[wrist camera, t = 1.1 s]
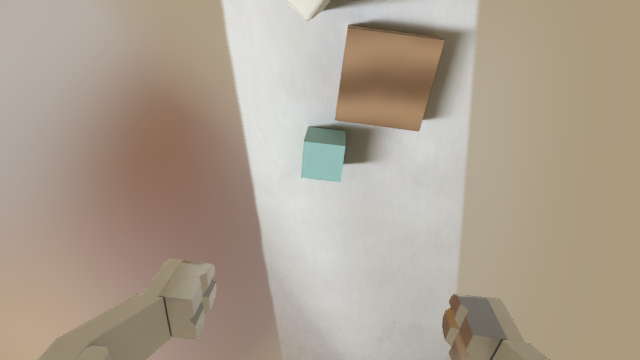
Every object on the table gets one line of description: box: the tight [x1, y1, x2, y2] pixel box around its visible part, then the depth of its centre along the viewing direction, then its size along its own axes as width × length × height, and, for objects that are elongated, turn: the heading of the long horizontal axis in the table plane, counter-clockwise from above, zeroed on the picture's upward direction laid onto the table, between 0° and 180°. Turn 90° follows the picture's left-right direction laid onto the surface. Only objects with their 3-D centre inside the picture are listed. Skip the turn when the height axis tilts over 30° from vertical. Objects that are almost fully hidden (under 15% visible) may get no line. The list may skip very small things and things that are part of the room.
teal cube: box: [301, 127, 346, 182], centre depth 42 cm, size 5×5×5 cm
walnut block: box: [335, 25, 445, 131], centre depth 37 cm, size 10×10×4 cm
